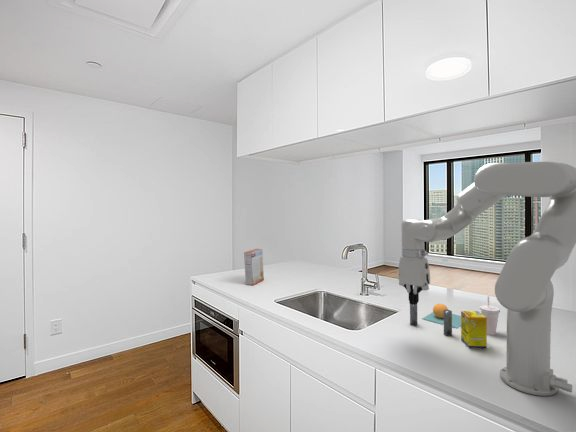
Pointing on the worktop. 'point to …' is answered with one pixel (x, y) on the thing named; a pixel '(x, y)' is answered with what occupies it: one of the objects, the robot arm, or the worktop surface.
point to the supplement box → (474, 329)
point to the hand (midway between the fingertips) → (413, 303)
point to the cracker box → (254, 266)
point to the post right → (448, 322)
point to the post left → (413, 315)
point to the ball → (439, 310)
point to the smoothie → (490, 317)
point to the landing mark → (455, 320)
